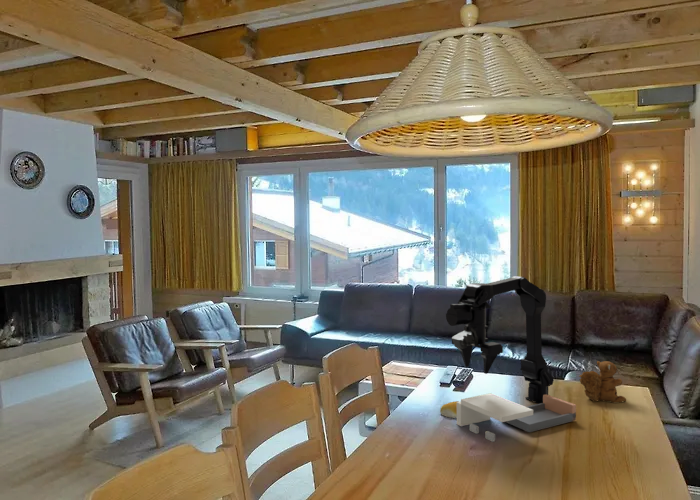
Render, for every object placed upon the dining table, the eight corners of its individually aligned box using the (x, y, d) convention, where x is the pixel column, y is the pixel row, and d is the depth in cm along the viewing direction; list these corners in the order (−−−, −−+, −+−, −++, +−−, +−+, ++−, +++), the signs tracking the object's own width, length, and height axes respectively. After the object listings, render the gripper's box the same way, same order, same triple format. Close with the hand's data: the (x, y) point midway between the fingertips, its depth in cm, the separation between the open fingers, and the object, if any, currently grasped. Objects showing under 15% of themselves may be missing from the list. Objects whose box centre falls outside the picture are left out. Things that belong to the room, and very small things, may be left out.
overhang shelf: (486, 417, 186) (486, 391, 185) (533, 438, 168) (533, 409, 168) (456, 424, 180) (456, 397, 180) (502, 446, 163) (502, 417, 162)
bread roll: (472, 413, 191) (472, 401, 190) (457, 420, 184) (457, 408, 184) (451, 407, 196) (451, 396, 196) (435, 414, 190) (435, 402, 190)
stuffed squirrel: (628, 402, 199) (629, 364, 198) (590, 404, 197) (591, 366, 197) (611, 393, 209) (612, 357, 208) (575, 395, 207) (575, 359, 206)
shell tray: (546, 409, 192) (546, 394, 191) (575, 420, 181) (576, 404, 181) (500, 419, 182) (500, 404, 182) (529, 432, 172) (529, 415, 171)
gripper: (438, 320, 192) (438, 367, 193) (476, 330, 175) (476, 381, 176) (465, 317, 197) (465, 362, 198) (504, 326, 180) (503, 375, 181)
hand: (476, 370), depth 188 cm, fingers open, 9 cm apart
